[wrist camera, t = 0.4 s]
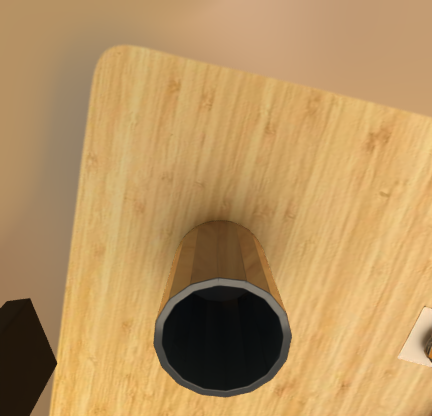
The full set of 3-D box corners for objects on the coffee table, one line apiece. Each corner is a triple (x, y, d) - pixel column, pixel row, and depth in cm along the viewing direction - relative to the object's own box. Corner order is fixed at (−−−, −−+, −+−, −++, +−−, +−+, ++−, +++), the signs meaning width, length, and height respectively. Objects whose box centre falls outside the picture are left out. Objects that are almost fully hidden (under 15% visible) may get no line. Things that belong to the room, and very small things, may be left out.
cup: (157, 255, 30) (125, 330, 19) (228, 202, 29) (236, 251, 18) (211, 317, 32) (210, 418, 21) (281, 270, 31) (317, 351, 20)
